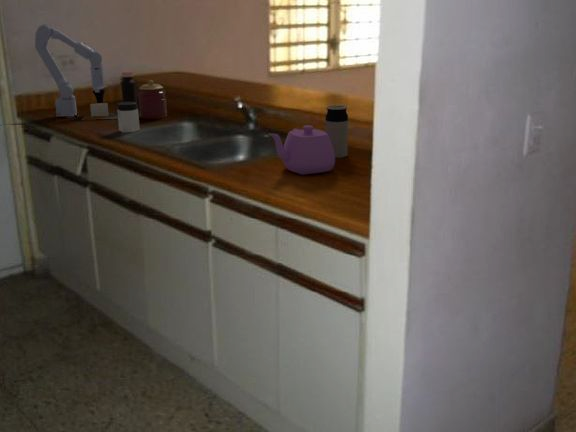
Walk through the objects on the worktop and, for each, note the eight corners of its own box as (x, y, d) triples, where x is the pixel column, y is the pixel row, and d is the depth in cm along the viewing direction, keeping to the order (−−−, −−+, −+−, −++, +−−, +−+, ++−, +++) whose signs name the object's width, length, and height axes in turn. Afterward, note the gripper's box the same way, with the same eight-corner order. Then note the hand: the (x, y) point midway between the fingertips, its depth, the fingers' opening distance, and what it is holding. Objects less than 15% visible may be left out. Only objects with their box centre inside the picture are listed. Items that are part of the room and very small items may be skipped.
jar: (117, 130, 298) (114, 102, 294) (135, 127, 302) (132, 101, 298) (123, 133, 291) (121, 105, 287) (141, 131, 295) (139, 103, 291)
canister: (152, 120, 318) (149, 82, 312) (134, 117, 326) (131, 80, 320) (172, 116, 328) (170, 79, 322) (154, 113, 335) (151, 77, 330)
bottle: (121, 113, 337) (117, 72, 331) (128, 111, 343) (124, 71, 337) (133, 114, 335) (129, 73, 329) (140, 111, 341) (136, 71, 335)
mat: (80, 120, 320) (80, 119, 320) (84, 115, 334) (84, 114, 333) (119, 119, 323) (119, 118, 323) (122, 113, 336) (121, 113, 336)
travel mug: (349, 157, 244) (350, 108, 238) (327, 158, 243) (328, 108, 237) (344, 152, 252) (345, 104, 246) (323, 153, 251) (323, 105, 245)
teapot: (314, 159, 243) (314, 117, 238) (342, 173, 225) (342, 128, 220) (255, 166, 235) (253, 123, 230) (278, 181, 216) (277, 135, 211)
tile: (108, 116, 329) (107, 103, 327) (91, 116, 328) (90, 104, 326) (108, 115, 330) (107, 103, 328) (91, 116, 329) (90, 103, 327)
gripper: (104, 78, 323) (107, 107, 327) (107, 74, 337) (110, 102, 341) (89, 79, 322) (92, 107, 327) (93, 75, 336) (95, 102, 340)
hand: (100, 105), depth 334 cm, fingers closed
